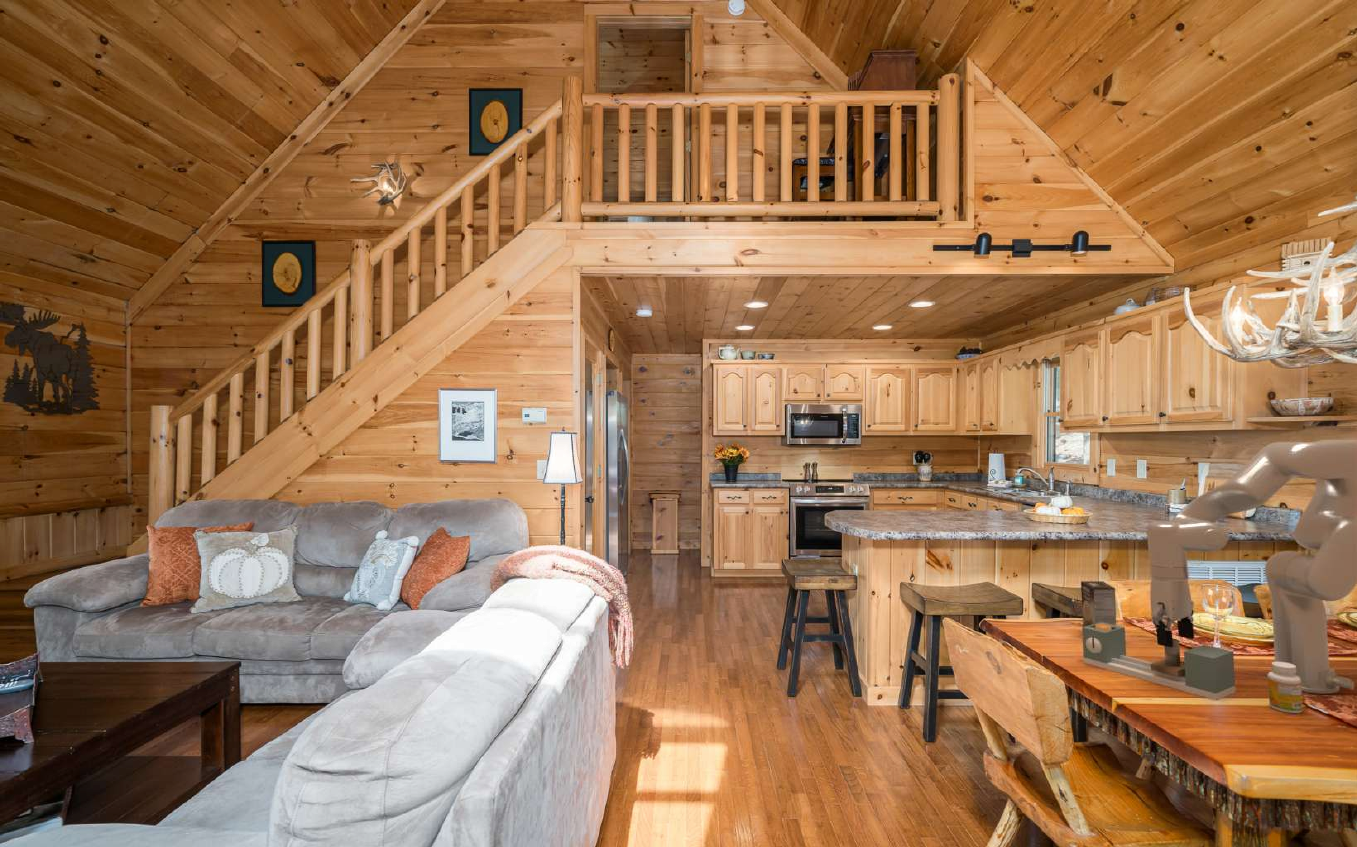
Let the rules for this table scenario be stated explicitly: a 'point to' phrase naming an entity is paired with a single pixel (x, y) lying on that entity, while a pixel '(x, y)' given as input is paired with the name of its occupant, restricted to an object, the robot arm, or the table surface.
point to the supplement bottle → (1285, 688)
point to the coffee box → (1098, 603)
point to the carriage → (1170, 661)
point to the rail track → (1154, 675)
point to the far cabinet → (1103, 643)
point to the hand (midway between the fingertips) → (1176, 641)
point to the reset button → (1103, 627)
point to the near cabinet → (1209, 668)
